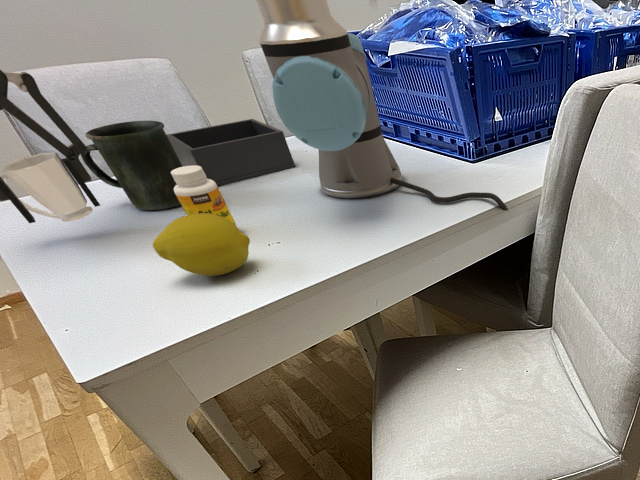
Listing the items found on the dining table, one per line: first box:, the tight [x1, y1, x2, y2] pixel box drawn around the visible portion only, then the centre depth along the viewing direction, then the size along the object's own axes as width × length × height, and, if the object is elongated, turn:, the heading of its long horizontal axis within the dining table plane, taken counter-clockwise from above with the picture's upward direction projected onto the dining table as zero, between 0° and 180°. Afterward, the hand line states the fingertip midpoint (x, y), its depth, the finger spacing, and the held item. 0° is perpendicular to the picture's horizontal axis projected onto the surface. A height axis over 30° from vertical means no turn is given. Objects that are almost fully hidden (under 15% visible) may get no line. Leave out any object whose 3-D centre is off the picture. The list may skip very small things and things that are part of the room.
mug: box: [80, 120, 183, 211], centre depth 79 cm, size 11×15×12 cm
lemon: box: [152, 213, 251, 277], centre depth 60 cm, size 11×8×8 cm
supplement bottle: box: [171, 165, 237, 226], centre depth 67 cm, size 6×6×10 cm
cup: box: [0, 152, 94, 223], centre depth 67 cm, size 7×10×8 cm
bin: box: [166, 118, 296, 187], centre depth 94 cm, size 17×18×7 cm
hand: (64, 211), depth 70 cm, fingers closed on cup, 8 cm apart
